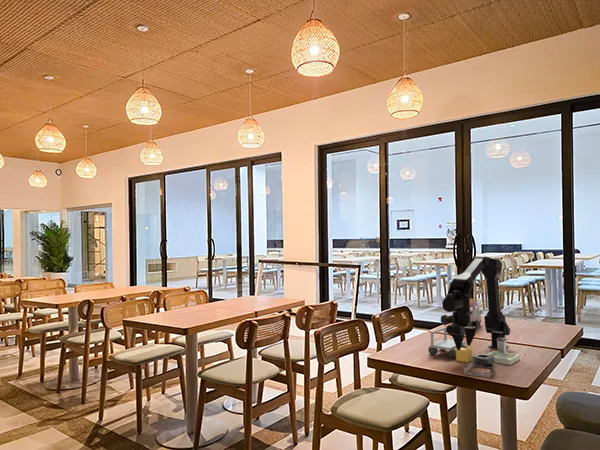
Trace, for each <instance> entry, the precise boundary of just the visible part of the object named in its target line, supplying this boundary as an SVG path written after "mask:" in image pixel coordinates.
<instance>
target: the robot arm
mask: <svg viewBox="0 0 600 450" xmlns="http://www.w3.org/2000/svg"><path fill="white" fill-rule="evenodd" d="M502 268H503V262H502V261H501V260H500V259H499V258H492V257H489V256H487V255H477V256H474V260H472V262H471V263H470V264H469V266H467V268H466V269H465V270H464V271H463V272H462V273H460V274H458V275H456V276H455V277H453V278H452V281H451V282H450V284H449V288H448V291H447V294H446V297H445V298H443V299H442V303H441V305H442V309H443V310H444V311H445V312H447V313H451V312H452V314H451V315H447V314H444V315H443V314H442V315H441V316H440V323H442V324H443V326H445V327H446V333H447V335H450V336H451V337H452V340H454V342H455V345H456V348H455V349H457V350H460V349H461V346H462V343H463V341H464V339H465V340H466V341H465V343H466V346H469V347H470V346H471V345H472V342H473V341H474V337H475V335H476V333H477V332H478V330H479V328H480V327H481V324H480V322H479V321H478V320H473V319H470V314H472V311H470V299H471V298H472V297H473V294H472V293H471V291H472V290H473V288H474V286H475V283H474V282H475V279H476V278H477V277H478V276H479V275H480V273H481V274H482V275H483V276H484V278H485V280H486V281H485V282H486V293H487V294H486V295H487V305H488V306H487V307H488V308H487V309H488V312H487V313H486V314H485V315H484V317H483V318H484V327H485V331H486V333H487V334H490V339H491V343H490V345H488V348H491V349H497V340H496V339H497V338H506V336H510V334H511V328H510V326H509V324H508V322H507V321H506V316H505V315H504V313H503V312H502V311H501V301H500V300H501V299H500V287H499V285H500V284H499V277H500V276H501V274H502V272H503V271H502V270H503V269H502ZM475 327H476V328H475ZM508 347H509V345H506V349H507V348H508Z"/></svg>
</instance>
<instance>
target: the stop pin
mask: <svg viewBox="0 0 600 450" xmlns="http://www.w3.org/2000/svg"><path fill="white" fill-rule="evenodd" d="M496 340H497V350H496V351H497V354H498V357H499V358H505V359H507V353H508V352H507V348H506V346H507V341H508V338H506V337H505V338H497V339H496ZM506 352H507V353H506Z"/></svg>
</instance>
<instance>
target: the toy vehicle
mask: <svg viewBox="0 0 600 450" xmlns="http://www.w3.org/2000/svg"><path fill="white" fill-rule="evenodd" d="M470 311H472V314H470V319H473V320H478V321H479V322H480V325H481V323H482V310H480V306H479V303H476V302H475V300H474V299H473V298H470ZM475 328H476V327H475Z"/></svg>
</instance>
